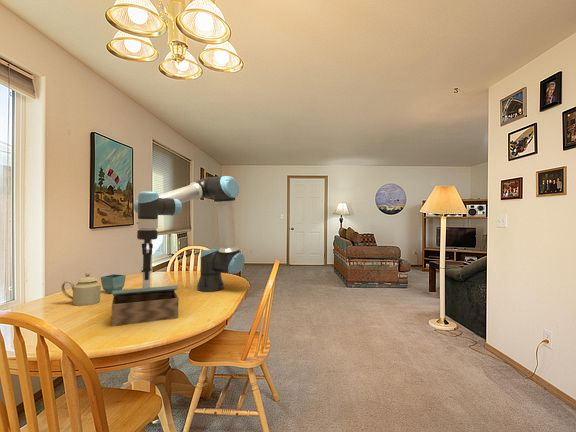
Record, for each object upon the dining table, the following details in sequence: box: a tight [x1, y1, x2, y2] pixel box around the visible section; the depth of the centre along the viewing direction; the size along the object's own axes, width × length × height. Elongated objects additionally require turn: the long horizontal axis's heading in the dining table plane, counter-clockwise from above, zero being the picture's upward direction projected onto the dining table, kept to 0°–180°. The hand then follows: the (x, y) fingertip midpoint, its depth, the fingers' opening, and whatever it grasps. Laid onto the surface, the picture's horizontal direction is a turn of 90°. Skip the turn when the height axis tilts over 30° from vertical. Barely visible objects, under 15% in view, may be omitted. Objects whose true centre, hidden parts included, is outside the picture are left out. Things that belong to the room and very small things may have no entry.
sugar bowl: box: [61, 270, 102, 307], centre depth 146 cm, size 15×11×15 cm
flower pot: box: [100, 273, 127, 294], centre depth 167 cm, size 9×9×9 cm
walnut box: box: [111, 291, 179, 327], centre depth 128 cm, size 24×14×8 cm, turn 117°
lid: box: [111, 285, 179, 297], centre depth 129 cm, size 24×14×1 cm, turn 117°
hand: (146, 287), depth 125 cm, fingers closed
